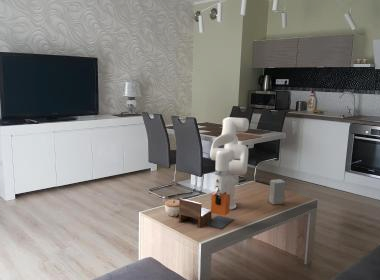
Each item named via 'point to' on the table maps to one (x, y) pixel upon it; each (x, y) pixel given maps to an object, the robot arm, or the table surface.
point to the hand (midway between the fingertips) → (220, 202)
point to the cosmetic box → (277, 191)
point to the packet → (224, 206)
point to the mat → (219, 222)
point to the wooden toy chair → (193, 211)
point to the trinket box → (172, 207)
